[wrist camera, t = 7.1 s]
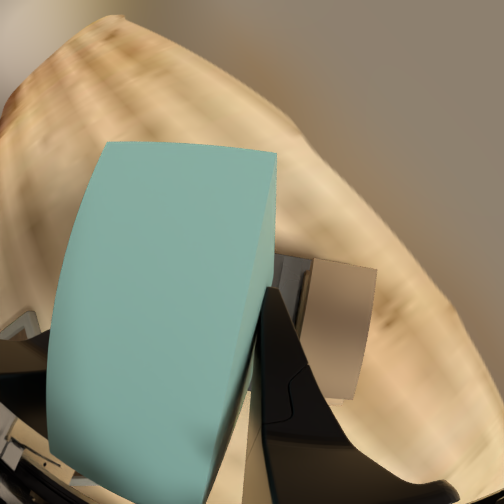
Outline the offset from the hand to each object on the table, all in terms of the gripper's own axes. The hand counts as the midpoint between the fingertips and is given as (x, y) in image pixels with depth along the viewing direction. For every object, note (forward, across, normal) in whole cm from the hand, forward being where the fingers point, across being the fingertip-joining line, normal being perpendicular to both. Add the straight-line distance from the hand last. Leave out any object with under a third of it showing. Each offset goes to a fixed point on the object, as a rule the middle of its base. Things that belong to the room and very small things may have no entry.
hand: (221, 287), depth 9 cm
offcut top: (+4, -6, +6) cm, 9 cm away
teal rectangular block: (+3, 0, +5) cm, 6 cm away
